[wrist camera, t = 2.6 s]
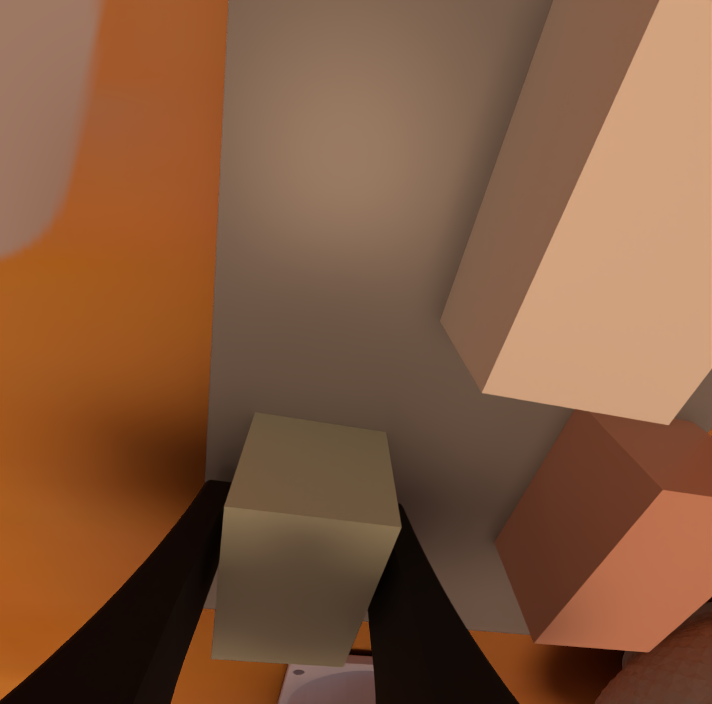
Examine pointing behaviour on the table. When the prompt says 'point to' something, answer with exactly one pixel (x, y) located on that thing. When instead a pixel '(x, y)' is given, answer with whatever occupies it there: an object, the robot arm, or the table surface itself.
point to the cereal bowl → (668, 668)
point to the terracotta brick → (613, 533)
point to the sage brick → (303, 541)
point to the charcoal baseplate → (376, 257)
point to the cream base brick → (598, 218)
